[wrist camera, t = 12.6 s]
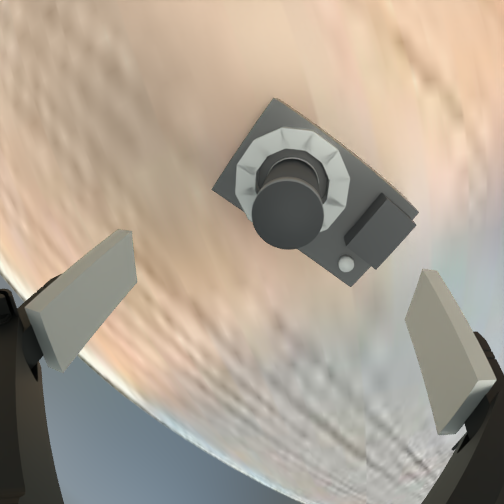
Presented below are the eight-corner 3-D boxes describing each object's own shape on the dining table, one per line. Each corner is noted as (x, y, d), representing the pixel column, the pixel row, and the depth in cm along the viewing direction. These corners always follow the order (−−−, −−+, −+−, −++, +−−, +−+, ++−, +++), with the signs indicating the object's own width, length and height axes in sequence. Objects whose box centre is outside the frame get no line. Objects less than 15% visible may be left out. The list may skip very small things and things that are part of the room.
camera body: (225, 176, 37) (204, 196, 30) (279, 99, 33) (270, 96, 25) (345, 262, 40) (352, 299, 32) (403, 195, 35) (426, 220, 27)
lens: (269, 153, 30) (253, 177, 21) (321, 159, 29) (329, 185, 20) (265, 203, 32) (248, 245, 23) (315, 208, 31) (318, 254, 22)
